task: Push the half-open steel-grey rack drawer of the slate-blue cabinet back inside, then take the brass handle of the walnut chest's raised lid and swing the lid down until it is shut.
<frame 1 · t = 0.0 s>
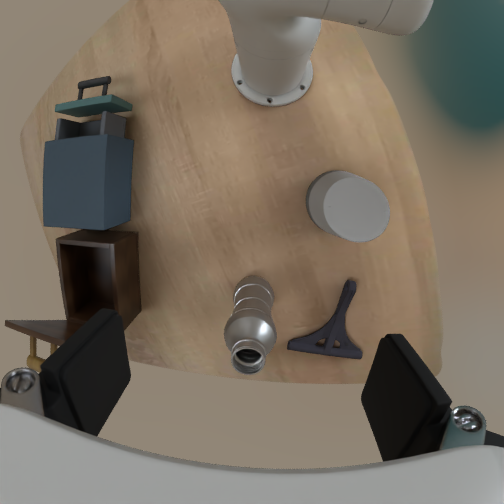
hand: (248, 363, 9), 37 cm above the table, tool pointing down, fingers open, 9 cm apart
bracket: (337, 317, 49), on the table
cabinet: (100, 180, 44), on the table
lid: (64, 348, 33), point 17 cm above the table, hinge at 65.0°
smart speaker: (332, 200, 44), on the table
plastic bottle: (254, 290, 48), on the table
chest: (111, 269, 48), on the table
drawer: (90, 127, 38), point 5 cm above the table, slide at 5.0 cm
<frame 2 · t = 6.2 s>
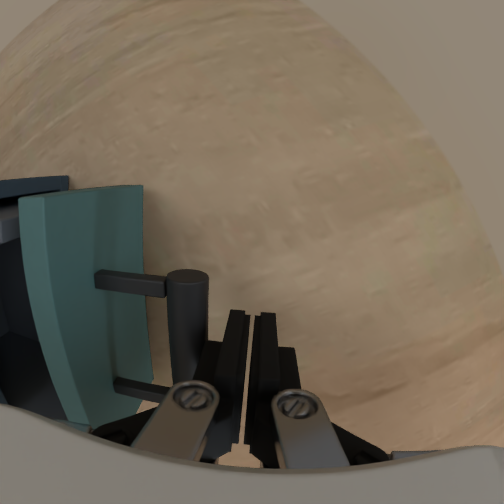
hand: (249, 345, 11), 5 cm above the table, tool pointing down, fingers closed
cabinet: (10, 267, 16), on the table
drawer: (46, 311, 11), point 5 cm above the table, slide at 4.3 cm
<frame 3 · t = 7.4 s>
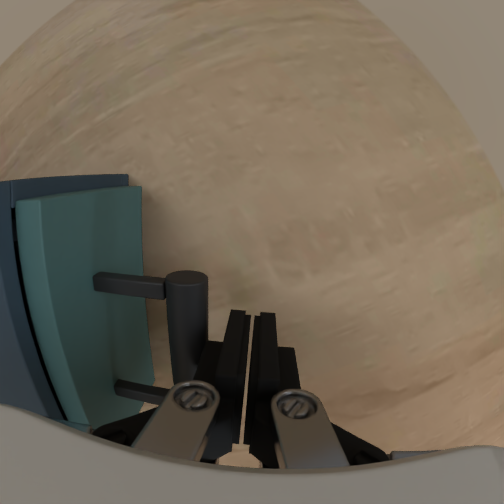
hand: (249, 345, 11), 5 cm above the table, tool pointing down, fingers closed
cabinet: (46, 276, 15), on the table
drawer: (45, 314, 11), point 5 cm above the table, slide at 0.0 cm, touching cabinet, gripper
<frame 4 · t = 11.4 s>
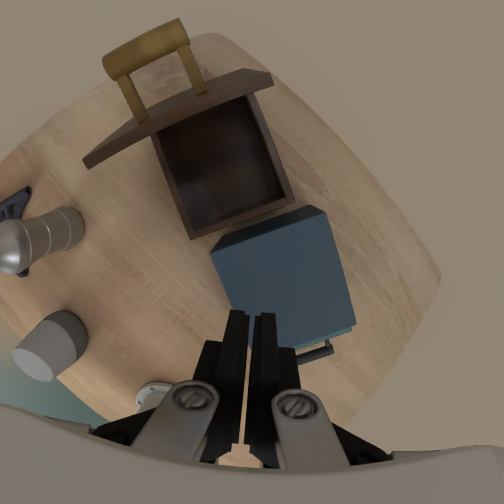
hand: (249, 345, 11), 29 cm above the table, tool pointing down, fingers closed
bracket: (17, 236, 40), on the table
cabinet: (282, 267, 40), on the table
lid: (170, 72, 18), point 17 cm above the table, hinge at 65.0°
smart speaker: (72, 328, 44), on the table
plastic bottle: (74, 225, 39), on the table
chest: (226, 160, 36), on the table
drawer: (294, 305, 36), point 5 cm above the table, slide at 0.0 cm, touching cabinet
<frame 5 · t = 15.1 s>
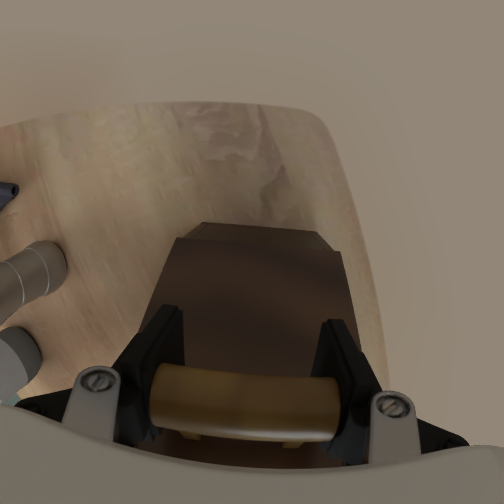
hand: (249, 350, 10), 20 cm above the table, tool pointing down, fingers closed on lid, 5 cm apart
lid: (252, 311, 13), point 17 cm above the table, hinge at 65.0°, touching gripper
smart speaker: (27, 345, 36), on the table
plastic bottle: (55, 261, 31), on the table
chest: (253, 294, 31), on the table
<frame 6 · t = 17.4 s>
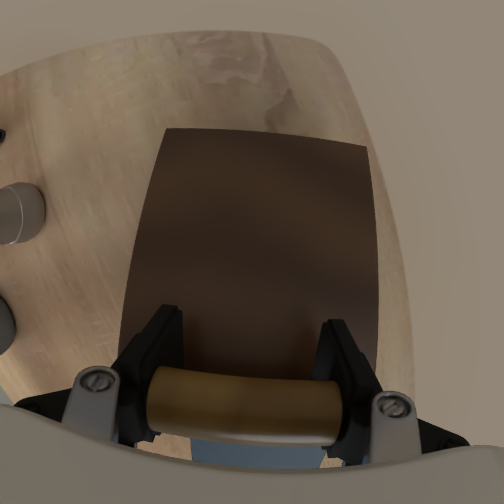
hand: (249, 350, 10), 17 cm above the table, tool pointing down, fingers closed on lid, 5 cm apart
cabinet: (262, 379, 30), on the table
lid: (257, 253, 11), point 15 cm above the table, hinge at 31.4°, touching gripper
smart speaker: (2, 315, 30), on the table
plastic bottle: (34, 209, 26), on the table
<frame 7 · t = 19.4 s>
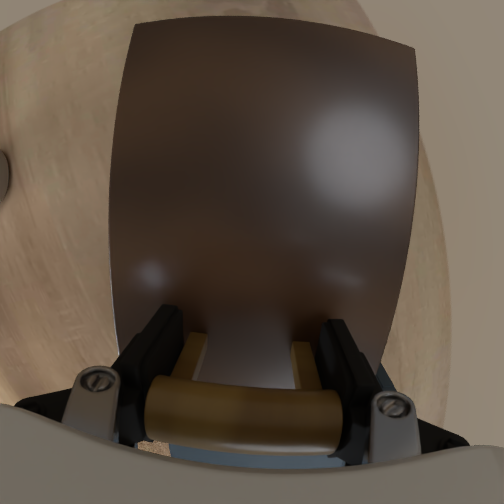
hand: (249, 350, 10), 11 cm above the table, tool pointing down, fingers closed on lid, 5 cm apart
cabinet: (268, 385, 23), on the table
lid: (261, 217, 8), point 12 cm above the table, hinge at 1.4°, touching gripper
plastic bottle: (0, 177, 20), on the table
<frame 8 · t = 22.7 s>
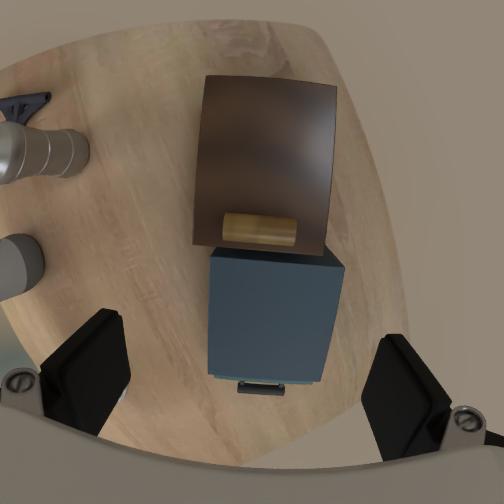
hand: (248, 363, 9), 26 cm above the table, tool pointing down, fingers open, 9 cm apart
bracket: (16, 138, 33), on the table
cabinet: (269, 293, 37), on the table
lid: (265, 158, 21), point 12 cm above the table, hinge at 1.2°
smart speaker: (31, 257, 38), on the table
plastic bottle: (77, 154, 33), on the table
drawer: (267, 337, 33), point 5 cm above the table, slide at 0.0 cm, touching cabinet
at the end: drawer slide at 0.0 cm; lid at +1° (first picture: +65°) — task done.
